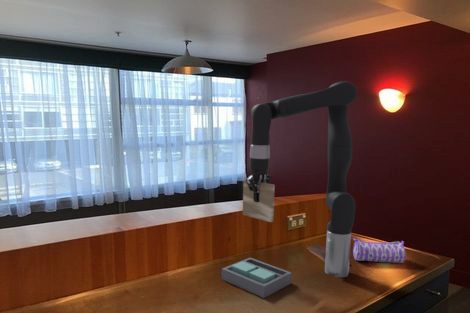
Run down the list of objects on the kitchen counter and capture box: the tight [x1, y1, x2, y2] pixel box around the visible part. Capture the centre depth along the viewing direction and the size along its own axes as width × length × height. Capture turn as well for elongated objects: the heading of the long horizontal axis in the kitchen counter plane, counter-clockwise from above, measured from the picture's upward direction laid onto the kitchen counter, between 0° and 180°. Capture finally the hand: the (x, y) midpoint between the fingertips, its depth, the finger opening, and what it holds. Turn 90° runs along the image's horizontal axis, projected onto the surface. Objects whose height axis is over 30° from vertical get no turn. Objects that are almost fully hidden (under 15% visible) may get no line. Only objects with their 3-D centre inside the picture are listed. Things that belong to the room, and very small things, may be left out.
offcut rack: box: [221, 257, 293, 299], centre depth 138 cm, size 16×20×5 cm
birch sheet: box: [242, 179, 275, 223], centre depth 144 cm, size 2×14×14 cm, turn 47°
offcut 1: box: [231, 260, 256, 278], centre depth 139 cm, size 6×7×5 cm
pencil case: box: [352, 237, 407, 264], centre depth 164 cm, size 22×9×10 cm, turn 90°
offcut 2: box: [249, 268, 275, 284], centre depth 133 cm, size 6×7×5 cm
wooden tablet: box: [306, 244, 352, 267], centre depth 169 cm, size 26×2×10 cm
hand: (258, 201), depth 144 cm, fingers closed on birch sheet, 1 cm apart
